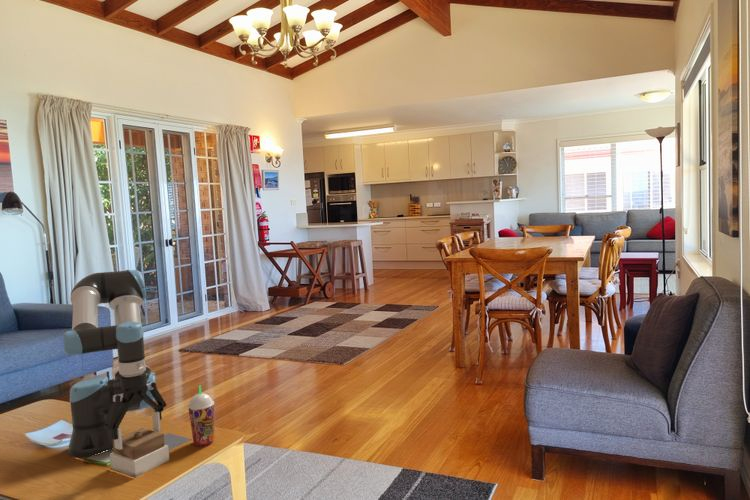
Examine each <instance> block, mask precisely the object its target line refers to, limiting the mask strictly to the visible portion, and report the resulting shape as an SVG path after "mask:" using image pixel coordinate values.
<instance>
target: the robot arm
mask: <svg viewBox="0 0 750 500" xmlns="http://www.w3.org/2000/svg"><path fill="white" fill-rule="evenodd" d="M146 290H147V289H146V285H145V281H144V278H143V274H142V272H141V271H140V270H138V269H126V270H117V271H104V272H95V273H92V274H89V275H87V276H85V277H83V278H82V279H81V280H79V281H78V282H77V283H76V284H75V285H74V286H73V288H72V290H71V292H70V297H69V298H70V300H69V301H70V303H71V305H72V307H73V308H72V324H71V325H72V326H71V330H68V331H65V332H64V333H63V349H64V353H65V354H66V355H67V356H75V355H79V356H80V355H84V354H91V353H97V352H105V351H113V350H117V360H118V370H116V372H115V373H114V378H112V379H109V377H108V376H107V375H96V376H91V377H88V378H85V379H82V380H80V381H78V382H75V383H74V384H73V385H72V386H71V388H70V389H69V399H68V400H69V403H70V409H71V411H70V412H71V424H72V432H71V436H70V438H69V439H70V440H69V444H68V454H69V456H70V457H73V458H87V457H88V458H89V457H93V456H92V455H94V456H96V455H95V454H98V453H101V452H103V451H106V450H109V449H111V450H113V449H112V448H113V440H114V444H115V448H116V449H119V450H121V449H123V447H122V428H121V427H119V426H120V425H121V423H122V422H123V419H124V417H125V415H126V413H128V412H132V411H133V412H134V411H142V410H144V409H148V408H152V409H153V410H152V411H151V414H152V415H151V417H152V419H151V420H152V427H153V428H152V431H155V432H159V433H162V429H161V428H162V427H161V421H162V419H163V417H162V412H163V411H164V408H166V407H167V403H166V400H164V398H163V396H162V395H161V393H160V391H159V390H158V388H157V383H156V373H155V372H154V371H152V370H151V368H150V367H149V366H148V365H146V356H145V355H146V353H145V341H144V329H143V325H142V322H141V312H140V307H141V306H142V305H143V302H144V300H145V299H146V298H147V291H146ZM101 304H108V307H109V309H111V310H113V313H114V325H108V326H99V312H98V311H99V309H98V308H99V306H98V305H101ZM151 371H152V372H151ZM109 451H110V450H109ZM98 455H99V454H98Z"/></svg>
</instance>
